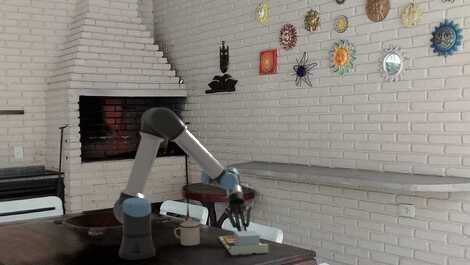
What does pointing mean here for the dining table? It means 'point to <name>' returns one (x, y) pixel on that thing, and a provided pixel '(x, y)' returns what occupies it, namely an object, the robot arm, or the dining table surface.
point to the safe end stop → (249, 249)
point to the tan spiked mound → (188, 214)
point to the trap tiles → (230, 240)
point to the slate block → (246, 238)
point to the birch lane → (225, 242)
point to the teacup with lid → (189, 232)
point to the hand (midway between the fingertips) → (244, 239)
